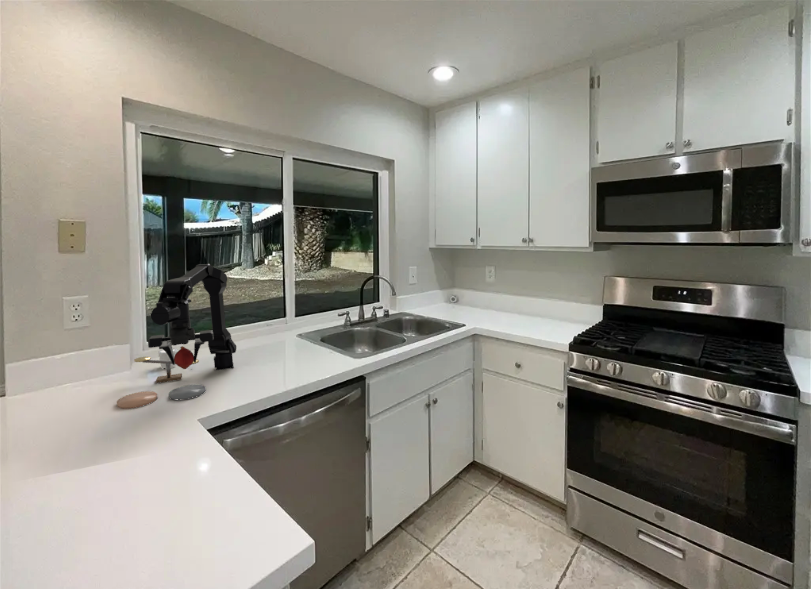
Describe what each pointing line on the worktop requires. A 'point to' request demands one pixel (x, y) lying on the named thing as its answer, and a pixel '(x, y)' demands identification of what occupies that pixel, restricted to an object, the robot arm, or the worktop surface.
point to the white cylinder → (166, 358)
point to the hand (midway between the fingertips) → (184, 363)
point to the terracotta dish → (136, 399)
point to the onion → (184, 358)
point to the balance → (168, 369)
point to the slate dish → (187, 391)
